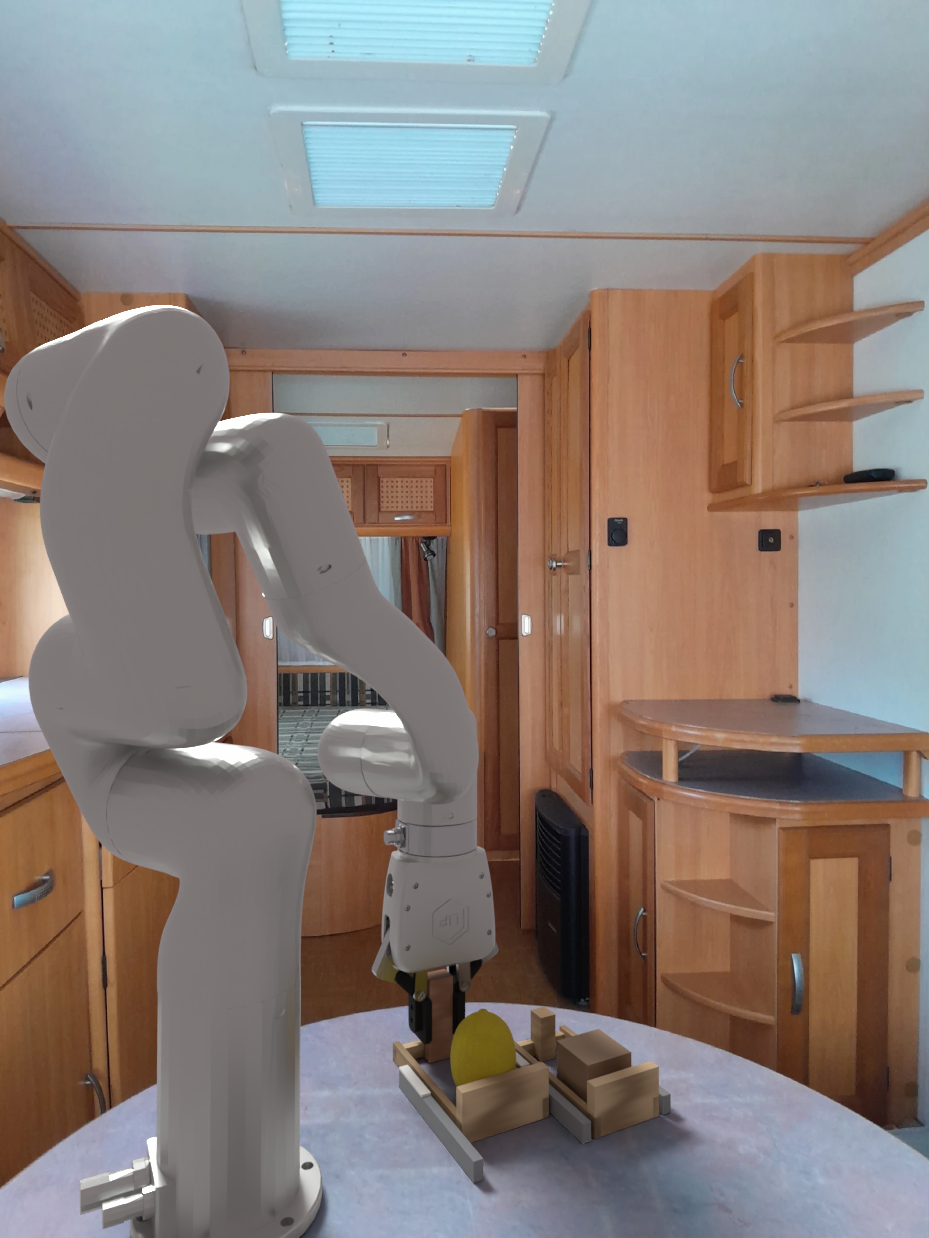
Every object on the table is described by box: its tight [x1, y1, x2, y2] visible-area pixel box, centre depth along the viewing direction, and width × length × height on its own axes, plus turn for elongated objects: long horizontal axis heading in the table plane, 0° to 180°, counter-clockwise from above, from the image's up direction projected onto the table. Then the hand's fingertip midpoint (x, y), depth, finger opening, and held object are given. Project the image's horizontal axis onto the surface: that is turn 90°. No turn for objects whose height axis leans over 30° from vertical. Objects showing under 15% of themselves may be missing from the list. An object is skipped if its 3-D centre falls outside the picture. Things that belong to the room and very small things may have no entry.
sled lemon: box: [392, 968, 550, 1144], centre depth 70 cm, size 8×14×8 cm, turn 28°
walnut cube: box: [556, 1028, 632, 1104], centre depth 68 cm, size 4×4×4 cm
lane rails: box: [398, 1052, 592, 1184], centre depth 66 cm, size 10×14×2 cm
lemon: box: [449, 1008, 516, 1087], centre depth 67 cm, size 6×6×8 cm
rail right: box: [631, 1064, 672, 1116], centre depth 71 cm, size 1×11×2 cm, turn 27°
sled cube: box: [514, 1006, 660, 1140], centre depth 70 cm, size 6×14×4 cm, turn 28°
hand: (437, 1031), depth 75 cm, fingers closed on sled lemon, 2 cm apart
